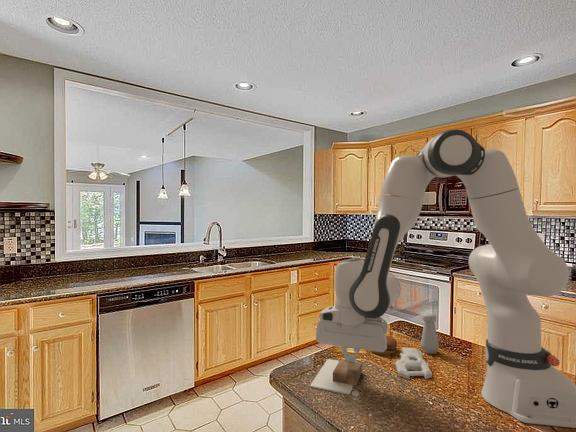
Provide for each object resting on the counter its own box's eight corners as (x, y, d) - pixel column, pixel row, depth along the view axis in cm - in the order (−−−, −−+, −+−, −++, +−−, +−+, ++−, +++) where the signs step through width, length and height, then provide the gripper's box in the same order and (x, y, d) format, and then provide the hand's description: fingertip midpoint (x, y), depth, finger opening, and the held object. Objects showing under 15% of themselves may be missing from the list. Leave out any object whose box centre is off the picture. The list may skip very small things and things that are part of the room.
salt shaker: (418, 348, 115) (417, 311, 115) (434, 348, 114) (434, 311, 114) (424, 355, 109) (424, 316, 109) (441, 355, 109) (441, 316, 109)
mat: (361, 365, 102) (361, 364, 102) (349, 394, 85) (349, 393, 85) (327, 360, 106) (327, 358, 106) (309, 386, 89) (309, 385, 89)
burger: (373, 356, 109) (373, 342, 109) (364, 345, 118) (364, 332, 118) (401, 355, 109) (401, 341, 109) (391, 344, 119) (390, 331, 119)
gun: (390, 343, 111) (420, 345, 109) (390, 353, 111) (420, 355, 109) (400, 371, 93) (437, 374, 91) (400, 383, 93) (436, 385, 91)
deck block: (361, 363, 97) (340, 359, 100) (355, 376, 89) (332, 372, 92) (361, 371, 97) (340, 367, 100) (355, 385, 89) (332, 381, 91)
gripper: (388, 314, 93) (389, 363, 93) (320, 307, 101) (320, 352, 101) (386, 321, 87) (386, 373, 87) (313, 313, 95) (314, 360, 95)
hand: (350, 361), depth 94 cm, fingers closed
